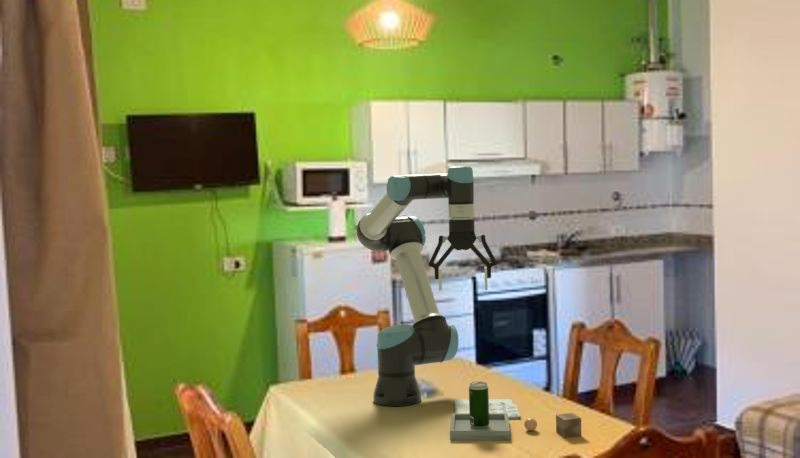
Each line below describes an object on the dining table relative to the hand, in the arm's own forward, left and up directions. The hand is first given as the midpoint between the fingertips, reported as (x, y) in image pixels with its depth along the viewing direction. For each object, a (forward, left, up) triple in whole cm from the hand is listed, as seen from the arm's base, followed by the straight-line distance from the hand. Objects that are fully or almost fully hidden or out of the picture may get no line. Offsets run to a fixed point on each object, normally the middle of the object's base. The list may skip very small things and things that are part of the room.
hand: (463, 289), depth 245 cm
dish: (+4, -19, -37) cm, 42 cm away
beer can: (+4, -19, -36) cm, 41 cm away
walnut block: (+28, -22, -37) cm, 51 cm away
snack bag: (+6, +1, -38) cm, 38 cm away
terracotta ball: (+18, -19, -35) cm, 44 cm away
